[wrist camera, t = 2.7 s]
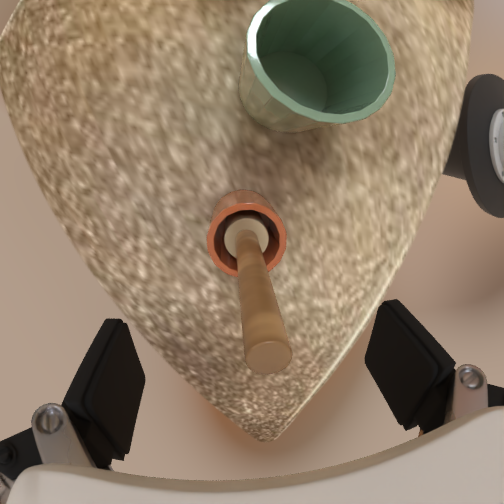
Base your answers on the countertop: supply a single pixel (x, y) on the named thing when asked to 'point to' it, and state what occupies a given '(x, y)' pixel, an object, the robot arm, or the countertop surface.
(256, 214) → the brush
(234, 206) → the holder
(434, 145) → the countertop surface
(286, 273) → the countertop surface
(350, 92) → the tumbler
